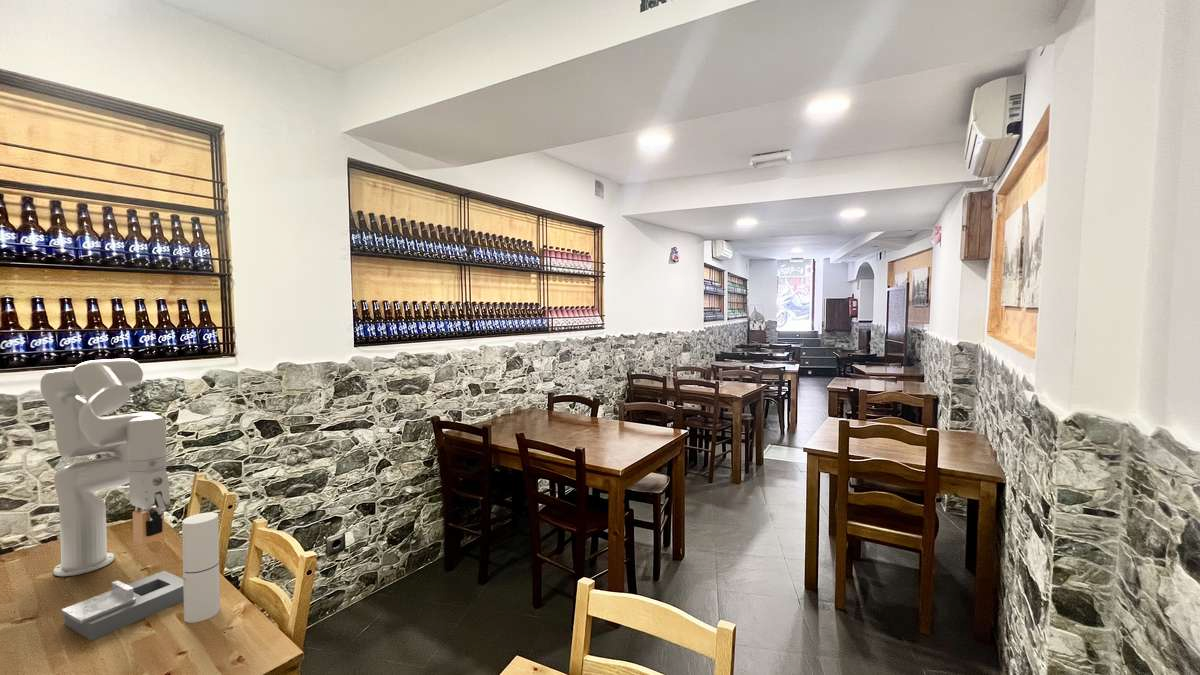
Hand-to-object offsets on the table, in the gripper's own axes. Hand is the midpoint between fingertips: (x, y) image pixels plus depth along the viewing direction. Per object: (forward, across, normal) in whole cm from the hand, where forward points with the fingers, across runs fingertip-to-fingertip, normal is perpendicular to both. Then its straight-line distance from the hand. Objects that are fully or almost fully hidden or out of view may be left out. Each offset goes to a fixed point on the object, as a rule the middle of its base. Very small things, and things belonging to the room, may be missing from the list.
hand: (149, 531), depth 129 cm
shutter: (+15, 0, +10) cm, 18 cm away
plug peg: (+2, 0, 0) cm, 2 cm away
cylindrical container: (+19, -18, -3) cm, 27 cm away
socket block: (+19, 0, +4) cm, 19 cm away
